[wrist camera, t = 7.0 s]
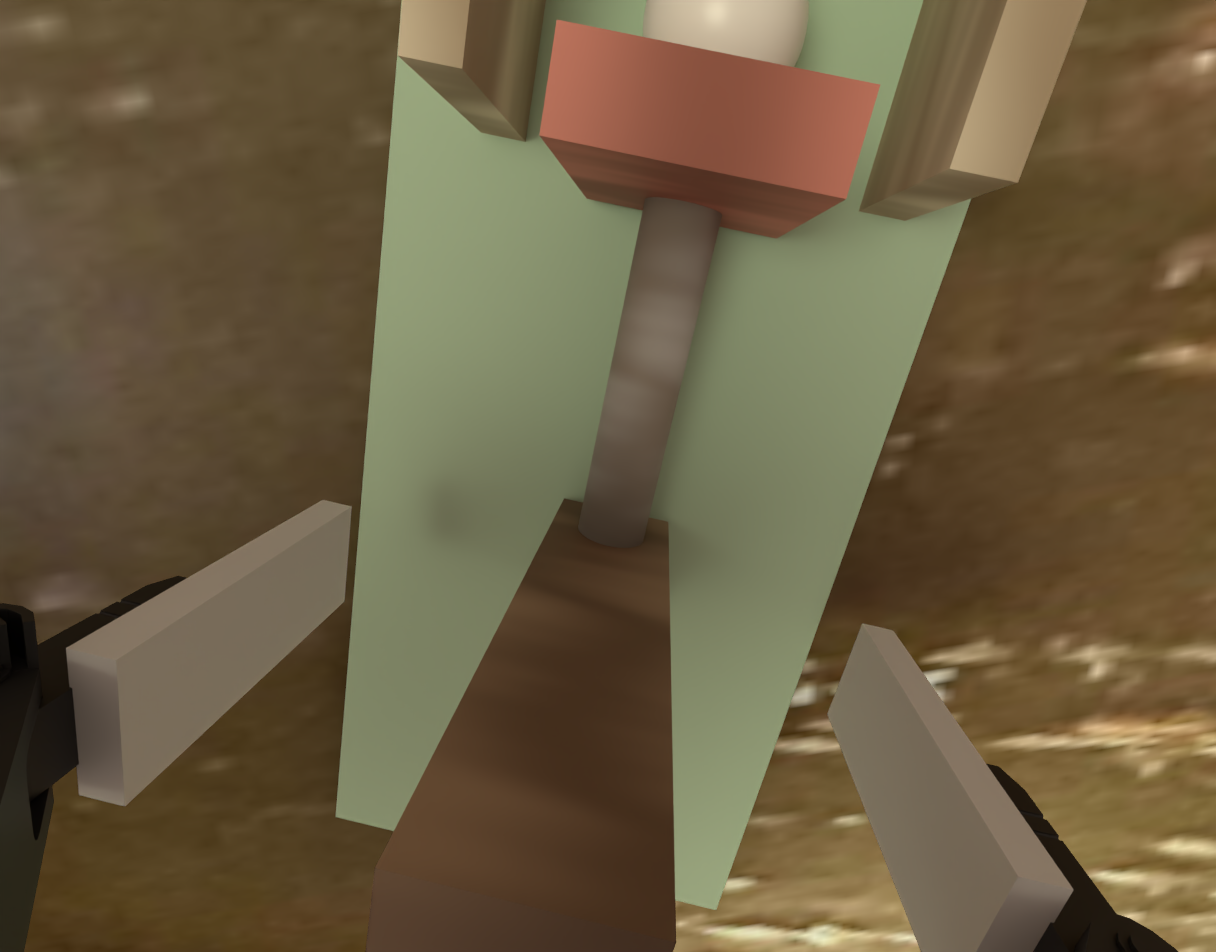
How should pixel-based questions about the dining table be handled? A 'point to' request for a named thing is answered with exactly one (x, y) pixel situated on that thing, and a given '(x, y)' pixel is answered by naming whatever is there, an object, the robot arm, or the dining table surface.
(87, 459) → the dining table surface
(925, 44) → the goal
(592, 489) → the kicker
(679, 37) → the ball
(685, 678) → the mat
